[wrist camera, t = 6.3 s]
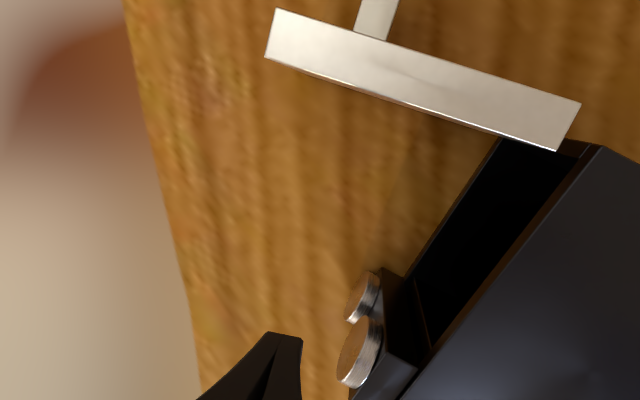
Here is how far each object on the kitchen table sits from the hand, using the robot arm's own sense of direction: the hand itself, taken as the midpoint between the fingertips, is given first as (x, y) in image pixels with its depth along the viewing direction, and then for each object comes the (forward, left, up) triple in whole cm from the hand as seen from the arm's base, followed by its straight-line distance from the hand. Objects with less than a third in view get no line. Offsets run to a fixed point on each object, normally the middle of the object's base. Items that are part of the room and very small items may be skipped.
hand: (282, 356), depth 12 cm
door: (+1, -13, -10) cm, 16 cm away
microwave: (-9, -4, -10) cm, 14 cm away
